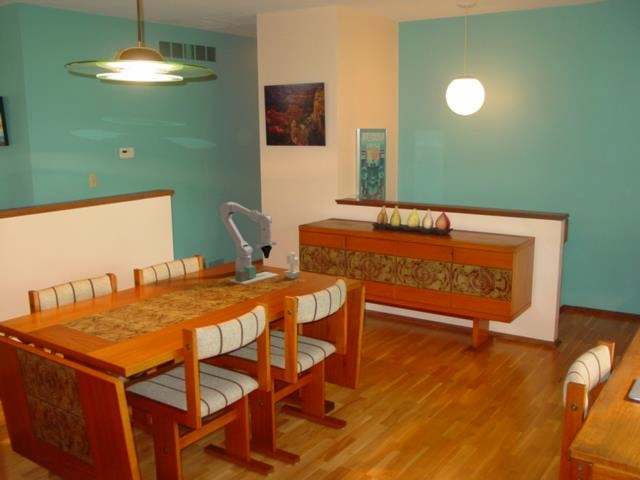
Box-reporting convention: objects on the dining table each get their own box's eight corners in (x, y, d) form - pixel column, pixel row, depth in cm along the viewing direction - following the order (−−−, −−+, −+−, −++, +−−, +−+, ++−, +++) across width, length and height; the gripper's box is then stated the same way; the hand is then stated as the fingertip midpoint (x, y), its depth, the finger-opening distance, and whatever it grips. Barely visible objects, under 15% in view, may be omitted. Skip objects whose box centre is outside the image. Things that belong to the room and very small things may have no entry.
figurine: (302, 276, 376) (302, 251, 373) (293, 280, 368) (292, 254, 365) (292, 275, 380) (292, 250, 377) (283, 278, 372) (282, 253, 369)
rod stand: (230, 281, 365) (229, 269, 364) (265, 272, 386) (265, 261, 385) (244, 284, 357) (244, 273, 356) (279, 275, 378) (279, 264, 377)
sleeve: (244, 277, 368) (243, 266, 367) (250, 275, 372) (250, 265, 370) (249, 278, 365) (249, 267, 364) (255, 277, 369) (255, 266, 368)
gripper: (261, 238, 372) (262, 261, 375) (279, 235, 383) (279, 257, 385) (253, 236, 377) (254, 259, 379) (271, 233, 387) (271, 255, 390)
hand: (266, 258), depth 383 cm, fingers closed
